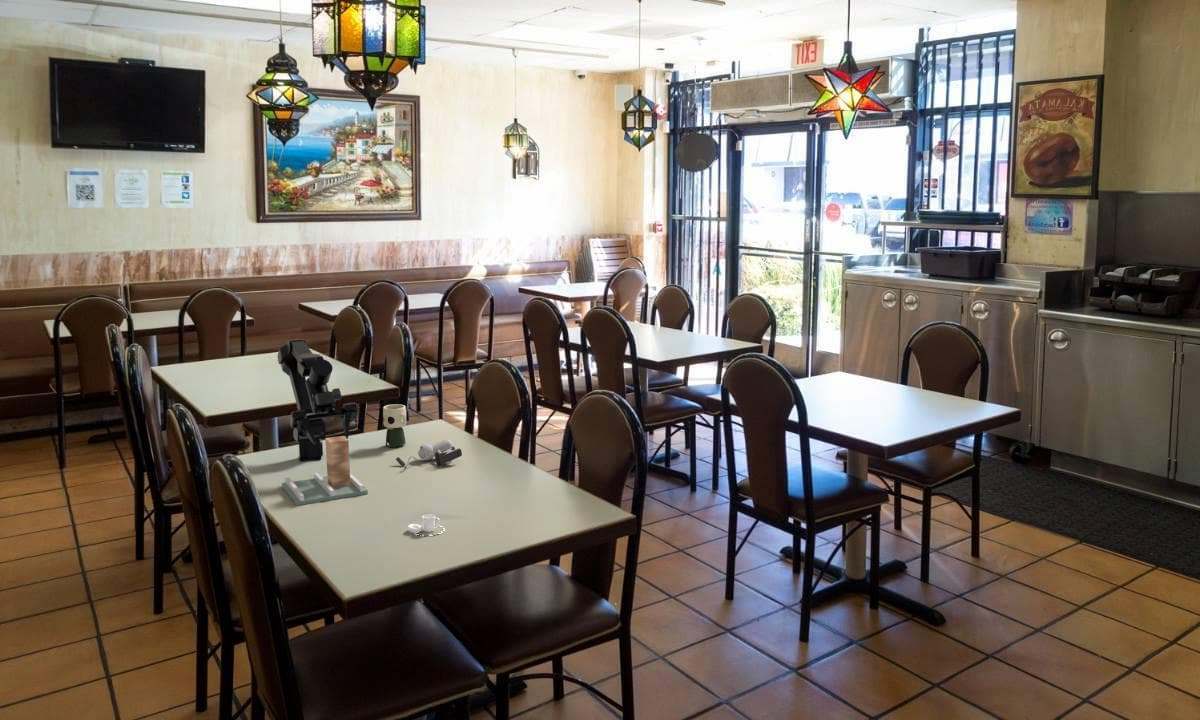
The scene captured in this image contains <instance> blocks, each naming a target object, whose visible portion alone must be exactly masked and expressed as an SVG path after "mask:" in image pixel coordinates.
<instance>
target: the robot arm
mask: <svg viewBox="0 0 1200 720" xmlns="http://www.w3.org/2000/svg"><path fill="white" fill-rule="evenodd" d="M277 362H278V365H280V367H281V370H282V372H283V373H285V374H286V375H287V376H288V377H289V380H290V384H291V387H292V392H293V395H294V400H295V403H296V407H297V410H293V411H292V412H290V418H289V424H290V428H291V429H293V431H292V433H293V435H292V436H293V439H294V440H295V441H296V442H297V443H298V453H299V457H298V461H299V462H308V461H309V462H310V461H320V460H322V457H323V456H324V449H323V448H324V446H323V445H324V442H323V441H321V439H324V440H325V438H327V436H326V435H327V433H326V432H327V430H326V429H327V425H328V424H327V423H326V421H325V419H328V418H335V417H341V418H342V428H343V432H344V437H345V438H346V439H348V440H349V434H350V433H349V432H350V425H351V424H350V423H353V421H354V420H356V419H357V417H358V414H359V411H360V410H359V409H360V407H359V405H358V404H357V403H356V402H348V403H343V404H342V407H341V408H337V409H334V408H335V407H336V403H337V402H336V401H340V400H341V399H342V392H341V389H340V388H339V387H337V388H333V389H332V390H331V391H330V390H329V387H328V383H329V382H330V379H331V375H332V373H333V365H332V363H331V362H330V361H328V360H326V359H324V357H323V355H320V354H319V353H318V354H317V353H313V352H312V351H311V349H310V348H309V347H308V345H307V344H306V340H305V339H302V338H298V339H289V340H288V341H287V342H286V344H284V345H283V346H281V347H279V349H278V352H277ZM306 377H308V378H306Z"/></svg>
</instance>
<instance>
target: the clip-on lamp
mask: <svg viewBox="0 0 1200 720" xmlns="http://www.w3.org/2000/svg"><path fill="white" fill-rule="evenodd" d="M417 455H418V458H417V457H415V456H414V455H410V456H409V457H408V459H407V463H405V462H404V461H403V460H402V459H401V458H400V457H399V456H395V460H396V462H397V463H398V464H399V465H400V466H401V467H402V468H403V467H405V468H407V467H408V466H409V463H410V460H411V458H413V459H414V460H415V461H419V462H420V461H425V462H428V461H430V460H432V459H433V458H435V463H436V466H440V467H441V468H444V467H446V464H447V463H449V462H451V461H454V460H456V459H458V458H460V457H462V456H463V452H462V449H461V448H457V449H456V448H455V446H453V443H452V441H451V440H450V439H448V438H447V439H443V440H441V441H438V442H435V443H432V444H430V443H423V444H422V445H420V447H419V450H418V452H417Z"/></svg>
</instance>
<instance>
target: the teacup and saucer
mask: <svg viewBox="0 0 1200 720" xmlns="http://www.w3.org/2000/svg"><path fill="white" fill-rule="evenodd" d="M436 519H437V520H438V523H437V524H435V523H436ZM440 520H441V519H440V518H439V517H437V516H436V515H435V514H434V513H428V514H423V515H422V516H421V522H422V525H420V524H417V523H411V524H408V525H407V527H406V529H407V531H408V532H409V533H412V534H413V533H414V534H413V535H415V536H417V535H419V534H420V533H421V532H422V531H424V532H425V531H426V532H425V533H432V532H434V530H435V529H437V526H438V525H439V526H440V527H444V526H443V525H440V522H441V521H440ZM435 525H437V526H436V527H434V526H435ZM421 526H423V528H422V527H421ZM443 529H444V530H443V531H444V532H445V531H446V527H444V528H443ZM431 531H432V532H431ZM444 532H442V531H441V533H438V532H437V533H438V534H439V535H441V534H443V533H444ZM415 533H419V534H415ZM424 535H425V534H422V536H421V535H420V536H419V537H424ZM428 535H429V536H428V537H434V536H433V535H432V534H428Z"/></svg>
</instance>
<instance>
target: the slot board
mask: <svg viewBox="0 0 1200 720" xmlns="http://www.w3.org/2000/svg"><path fill="white" fill-rule="evenodd" d="M313 475H314V476H313V478H306V479H301V480H294V481H293V480H292V479H291V477H289V476H287V477H284V480H285V481H284V482H282V483H281V487H282V489H283V490H284V491H285V492H286V494H287V495H288V497H289V498H290V499H291V500H292V501H293V502H294V504H295V505H296V506H301V505H307V504H312V503H313V504H314V503H319V502H320V503H321V502H327V501H331V500H337V499H338V500H339V499H344V498H350V497H357V496H363V495H368V494H369V491H368V489H367V488H366V487H365V485H364V484H363V483H362V482H360V480H359V479H358V478H356V477H355V476H354V475H353V474H352V473H351V472H350V484H351V485H350V486H344V487H337V488H332V487H331V486H330V485H329V484H328V478H327V476H322V475H320V474H319V472H314V473H313Z"/></svg>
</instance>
